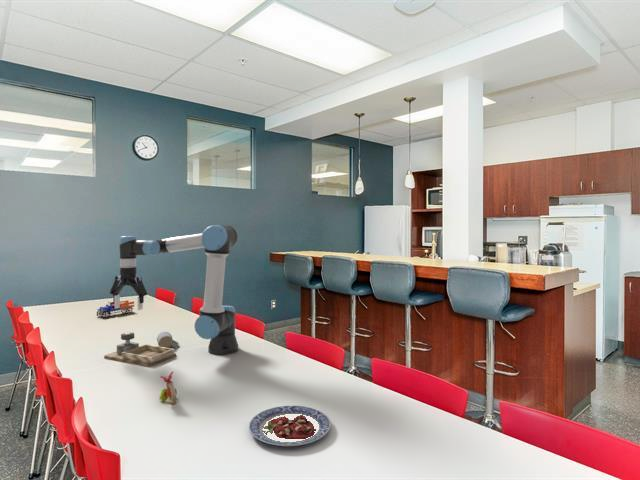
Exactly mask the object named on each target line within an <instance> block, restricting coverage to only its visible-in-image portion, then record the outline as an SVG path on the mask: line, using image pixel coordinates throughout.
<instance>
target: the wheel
mask: <svg viewBox="0 0 640 480" xmlns="http://www.w3.org/2000/svg"><path fill="white" fill-rule="evenodd" d="M120 339H121V340H122V341H125V342H126V345H130V342H131V340H133V339H135V333H134V332H123V333H121V334H120Z"/></svg>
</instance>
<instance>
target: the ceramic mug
mask: <svg viewBox="0 0 640 480" xmlns="http://www.w3.org/2000/svg"><path fill="white" fill-rule="evenodd" d="M156 341H157V346H159V347H165V348H171V347H175V348H178V347H179V345H180V343H179V342H178V341H177V340H174V339H173V335H172V334H171V332H169V331H161V332H160V333H159V334H158V335H157V337H156Z"/></svg>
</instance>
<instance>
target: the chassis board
mask: <svg viewBox="0 0 640 480" xmlns="http://www.w3.org/2000/svg"><path fill="white" fill-rule="evenodd" d="M103 357H104V359H106V360H107V359H108V360H113V361H118V362H123V363H128V364H133V365H140V366H144V367H148V368H149V367H152V366H155V365H157V364H160V363H162V362H165V361H167V360H169V359H172V358H174V357H177V353H176V352H175V349H174V348H171V347H170V348H165V347H159V345H151V344H147V343H146V344H143V345H140V343H139V342H134V341H133V342H132V341H130V345H126V341H124V342H122V343H120V344H117V345H116V351H115V352H112V353H107V354H105V355H103Z"/></svg>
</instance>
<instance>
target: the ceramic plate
mask: <svg viewBox="0 0 640 480" xmlns="http://www.w3.org/2000/svg"><path fill="white" fill-rule="evenodd" d="M285 414H302V415H300V416H297V417H296V418H294V420H289V419H288V418H286V417H285V416H284V417H279V418H277V419H273V420H271V419H272V418H274V417H276V416H280V415H285ZM303 415H306V416H310V417H312V418H313V419H315V420H316V421H317V422H318V424H319V430H318V432H317V433H316V434H315V435H314V433H315V432H314V431H316V429H314V426H313V424H312V423H311V422H310V421H307V419H306V417H305V416H303ZM269 420H271V421H269ZM267 421H269V422H268V426H265V427H264V425H265V424H266V422H267ZM248 424H249V425H248V429H249V432H250V434H251V436H253V437H254V438H255V439H256V440H258V441H261V442H263V443H265V444H268V445H273V446H279V447H280V446H281V447H297V446H303V445H309V444H311V443H314V442H316V441H318V440H320V439H322V438H324V437H325V436H326V435H327V434H328V433H329V431H330V430H331V425H332V423H331V420H330V418H329V417H328V416H327V415H326V414H325V413H324V412H322V410H321V411H320V410H318V409H316V408H313V407H308V406H305V405H304V406H303V405H280V406H275V407H271V408H268V409H264V410H262V411H260V412H258V413H257V414H255V415H254V416H253V417H252V419H251V420H250V421H249V423H248ZM263 428H264V429H268V430H269V431H267V432H266V431H263V430H262V429H263ZM273 431H274V433H275V435H276V436H277V437H279V438H285V439H305V440H302V441H296V442H280V441H275V440H272V439H270V438H268V437H267V436H266V435H267V433H268V432H270V433H271V434H272V433H273ZM263 432H264V433H265V432H266V433H265V434H266V435H264V433H263ZM313 435H314V436H313ZM311 436H312V437H311ZM308 437H310V438H308ZM306 438H308V439H306Z"/></svg>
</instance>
